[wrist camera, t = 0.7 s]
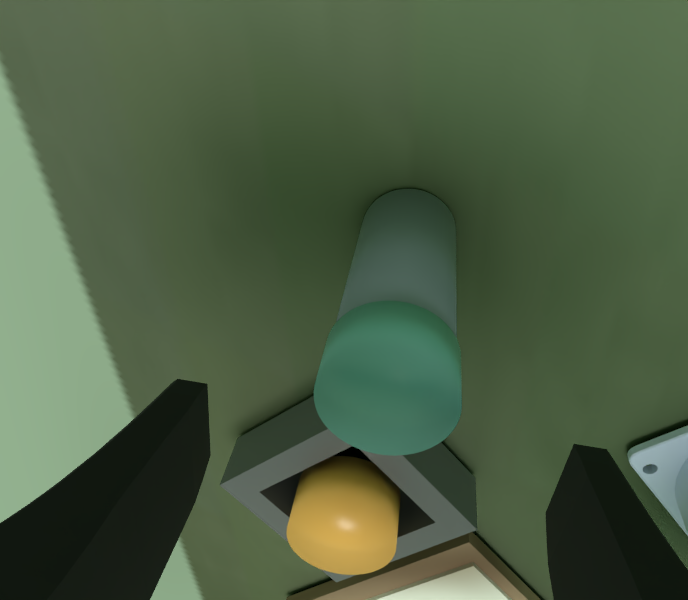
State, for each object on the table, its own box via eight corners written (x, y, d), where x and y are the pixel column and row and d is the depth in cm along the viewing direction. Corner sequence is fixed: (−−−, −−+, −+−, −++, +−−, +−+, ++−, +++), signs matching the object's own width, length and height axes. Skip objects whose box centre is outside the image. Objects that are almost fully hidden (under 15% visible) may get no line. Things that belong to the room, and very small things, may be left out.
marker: (479, 242, 20) (491, 419, 14) (398, 291, 22) (374, 473, 15) (419, 165, 19) (400, 318, 13) (338, 222, 21) (284, 386, 14)
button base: (475, 478, 26) (477, 529, 24) (344, 532, 29) (336, 582, 27) (367, 365, 24) (359, 412, 22) (237, 437, 27) (219, 484, 25)
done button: (421, 505, 25) (419, 555, 23) (343, 537, 27) (334, 586, 25) (355, 441, 23) (347, 489, 22) (277, 480, 25) (264, 527, 23)
